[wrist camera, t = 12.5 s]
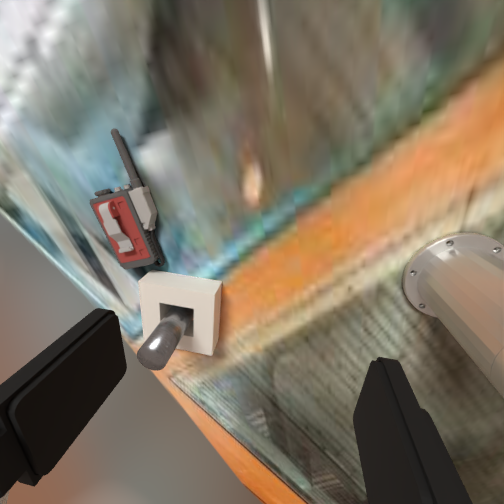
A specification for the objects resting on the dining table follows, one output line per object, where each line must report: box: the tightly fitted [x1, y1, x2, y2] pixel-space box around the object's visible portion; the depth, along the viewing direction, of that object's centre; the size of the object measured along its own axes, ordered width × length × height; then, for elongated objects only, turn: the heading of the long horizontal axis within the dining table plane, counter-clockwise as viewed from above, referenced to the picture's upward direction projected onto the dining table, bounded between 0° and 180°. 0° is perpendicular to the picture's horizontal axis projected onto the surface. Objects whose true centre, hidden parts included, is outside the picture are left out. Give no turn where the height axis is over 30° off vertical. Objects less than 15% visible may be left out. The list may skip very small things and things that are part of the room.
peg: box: [137, 305, 194, 370], centre depth 39 cm, size 4×4×12 cm
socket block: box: [138, 270, 222, 356], centre depth 42 cm, size 12×12×4 cm
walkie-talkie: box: [90, 129, 165, 269], centre depth 37 cm, size 9×4×20 cm
